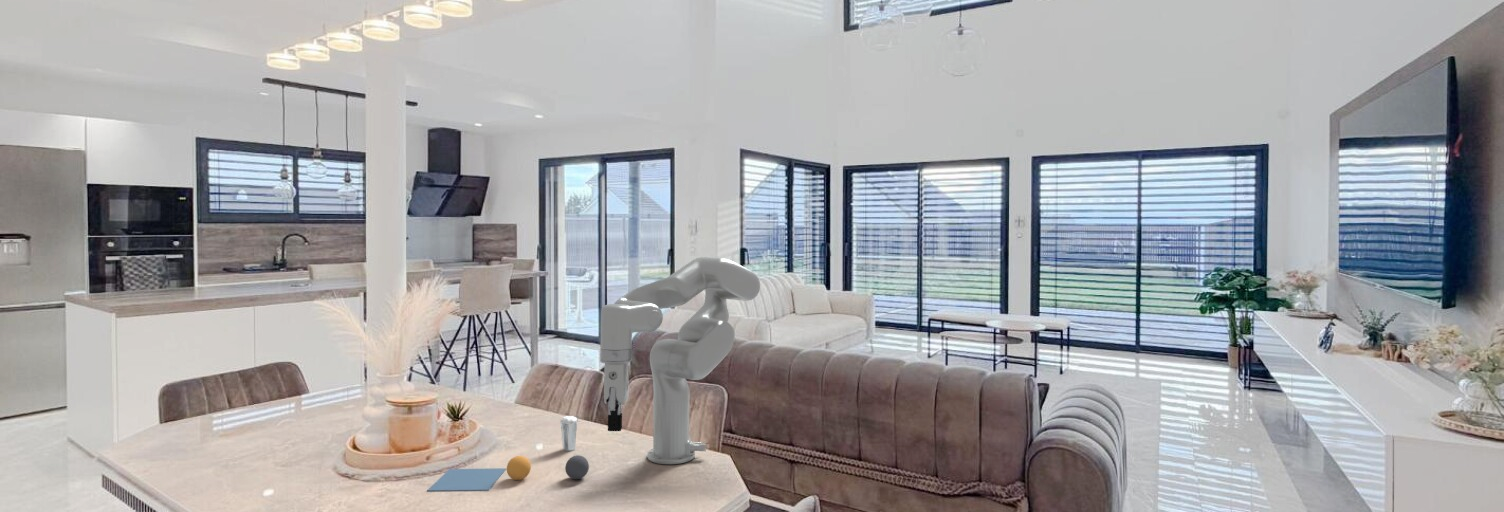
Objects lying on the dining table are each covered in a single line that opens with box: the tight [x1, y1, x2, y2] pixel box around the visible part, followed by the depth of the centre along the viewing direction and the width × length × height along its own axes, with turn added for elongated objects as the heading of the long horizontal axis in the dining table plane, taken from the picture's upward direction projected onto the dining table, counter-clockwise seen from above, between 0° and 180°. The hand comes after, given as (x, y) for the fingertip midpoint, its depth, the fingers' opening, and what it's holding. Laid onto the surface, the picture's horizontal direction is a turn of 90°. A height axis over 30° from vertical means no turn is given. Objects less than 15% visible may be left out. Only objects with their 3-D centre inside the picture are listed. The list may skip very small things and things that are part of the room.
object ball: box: [506, 455, 532, 481], centre depth 170 cm, size 6×6×6 cm
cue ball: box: [564, 454, 590, 480], centre depth 171 cm, size 6×6×6 cm
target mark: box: [426, 467, 507, 492], centre depth 170 cm, size 14×14×1 cm
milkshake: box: [560, 414, 580, 452], centre depth 193 cm, size 4×5×10 cm
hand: (614, 430), depth 171 cm, fingers closed
